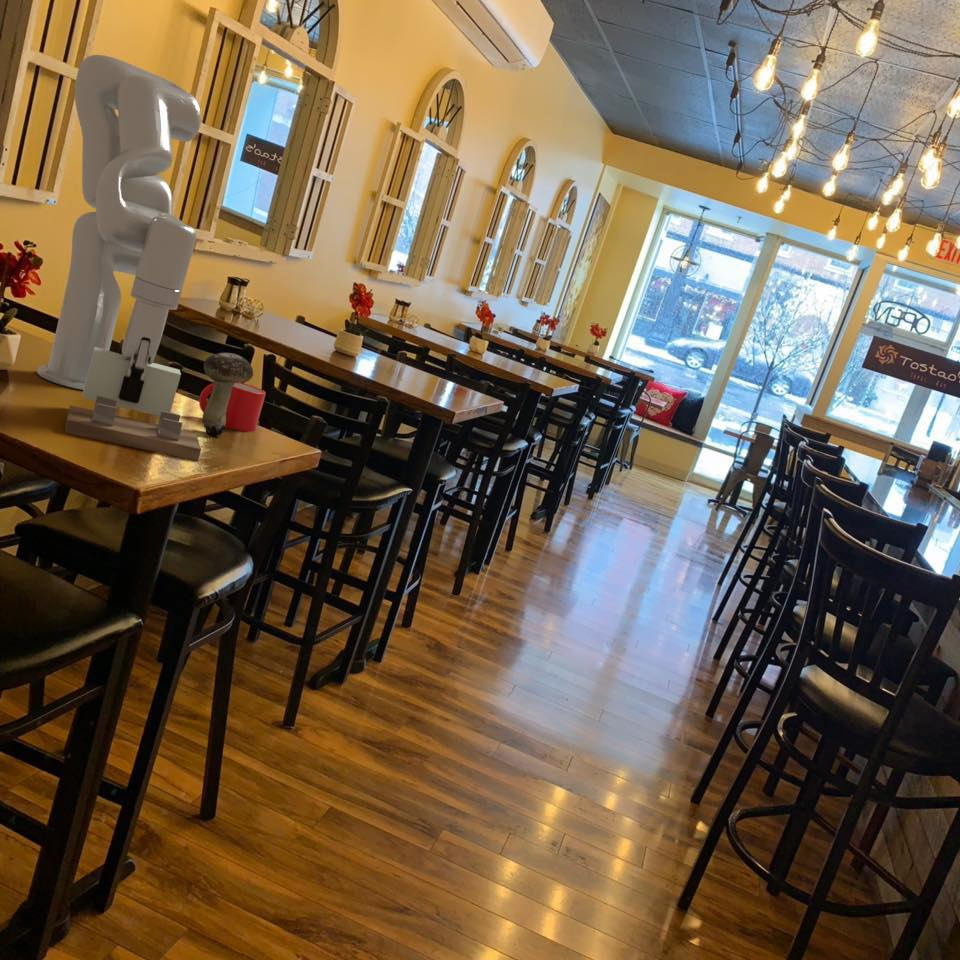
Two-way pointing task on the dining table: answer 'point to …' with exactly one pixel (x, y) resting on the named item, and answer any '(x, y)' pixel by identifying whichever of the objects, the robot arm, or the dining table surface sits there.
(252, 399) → the mug
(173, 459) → the dining table surface
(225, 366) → the mushroom
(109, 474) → the dining table surface
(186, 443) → the board
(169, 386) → the pale grey rectangular block
